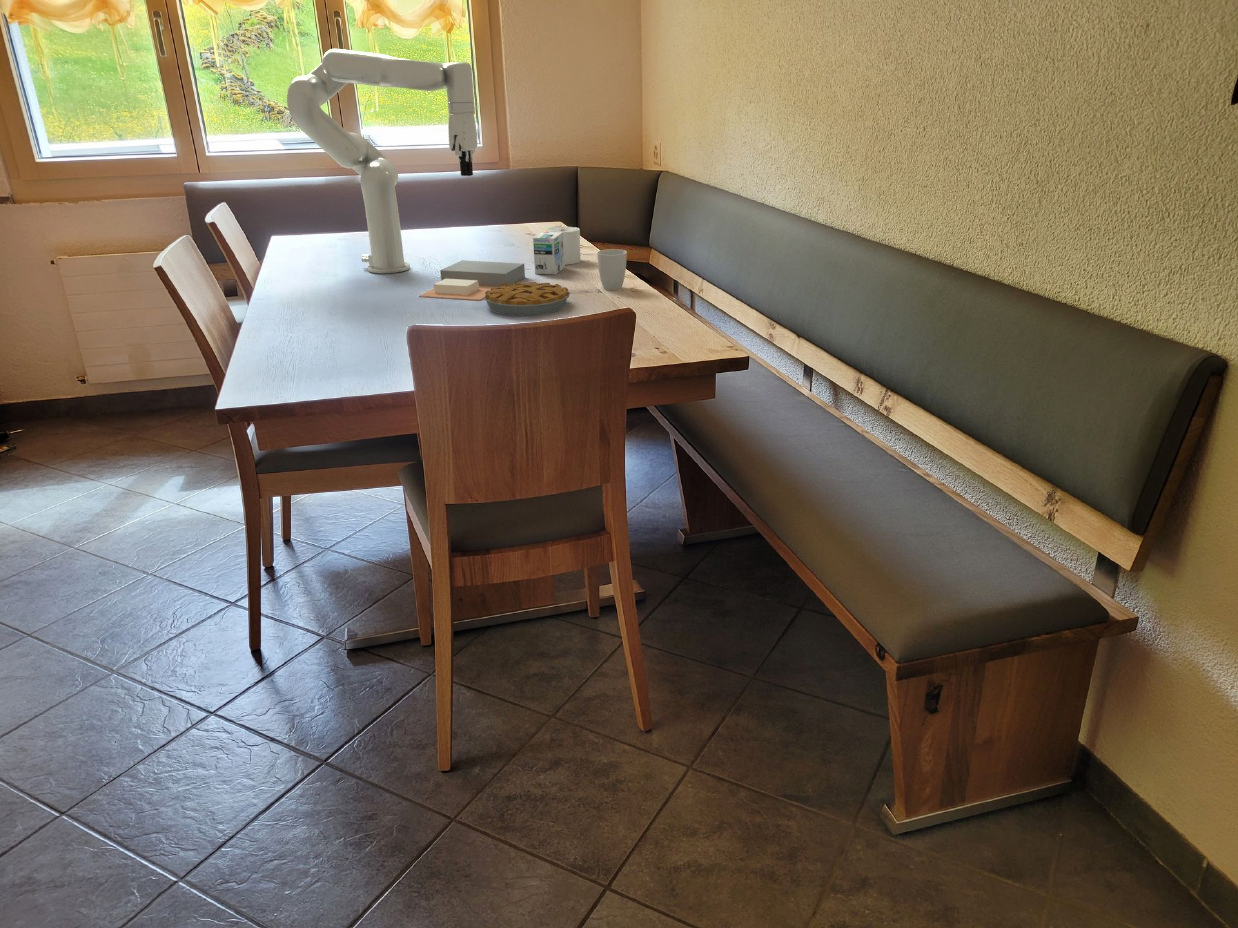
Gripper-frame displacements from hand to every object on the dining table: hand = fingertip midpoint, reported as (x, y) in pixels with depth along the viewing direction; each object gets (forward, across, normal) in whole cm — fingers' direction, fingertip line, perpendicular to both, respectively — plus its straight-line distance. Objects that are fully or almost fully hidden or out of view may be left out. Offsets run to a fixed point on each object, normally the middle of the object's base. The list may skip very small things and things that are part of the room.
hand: (467, 175), depth 261 cm
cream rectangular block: (+26, +32, +10) cm, 42 cm away
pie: (+28, +41, +35) cm, 60 cm away
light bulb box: (+27, 0, +25) cm, 37 cm away
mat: (+27, +32, +11) cm, 43 cm away
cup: (+27, +17, +50) cm, 60 cm away
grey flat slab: (+27, +17, +11) cm, 34 cm away
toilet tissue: (+27, -14, +24) cm, 39 cm away
